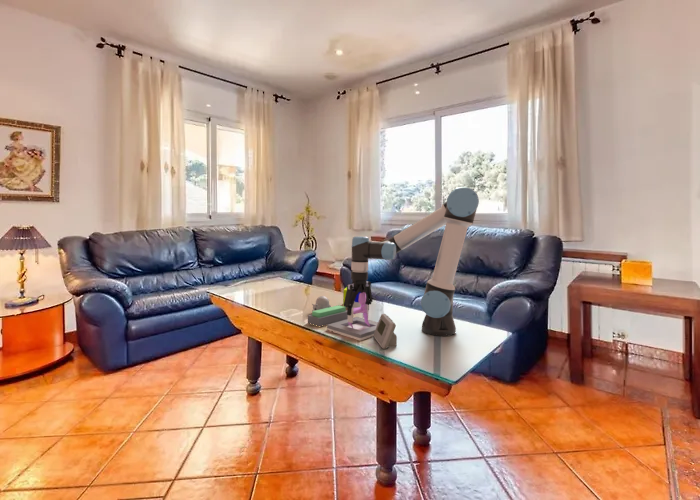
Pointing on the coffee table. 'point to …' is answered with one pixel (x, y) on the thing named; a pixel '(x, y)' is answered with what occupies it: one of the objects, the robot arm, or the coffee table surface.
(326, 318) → the button housing
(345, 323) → the grey flat square frame
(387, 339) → the digital clock
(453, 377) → the coffee table surface
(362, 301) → the toy chair
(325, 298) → the chubby cartoon animal
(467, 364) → the coffee table surface
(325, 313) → the bar
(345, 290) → the puzzle toy
